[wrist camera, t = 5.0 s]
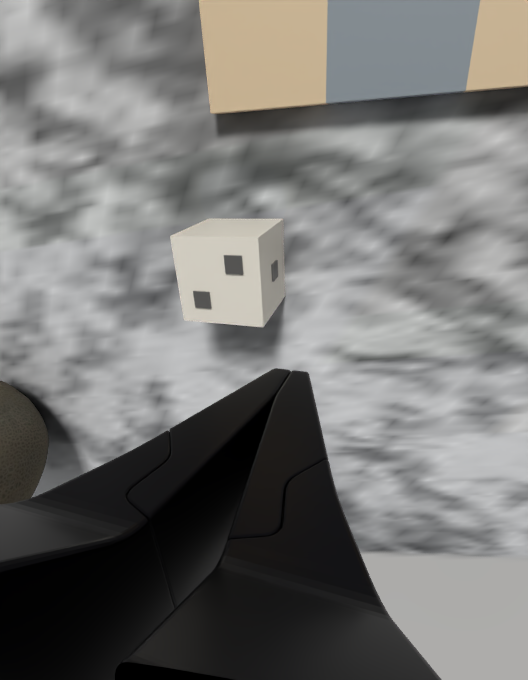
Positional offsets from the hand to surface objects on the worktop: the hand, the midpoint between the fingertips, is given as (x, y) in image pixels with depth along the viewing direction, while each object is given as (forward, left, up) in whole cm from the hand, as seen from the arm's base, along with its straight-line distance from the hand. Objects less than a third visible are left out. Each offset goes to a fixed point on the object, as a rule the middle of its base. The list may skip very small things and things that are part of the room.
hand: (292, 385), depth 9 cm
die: (+5, 0, -11) cm, 12 cm away
